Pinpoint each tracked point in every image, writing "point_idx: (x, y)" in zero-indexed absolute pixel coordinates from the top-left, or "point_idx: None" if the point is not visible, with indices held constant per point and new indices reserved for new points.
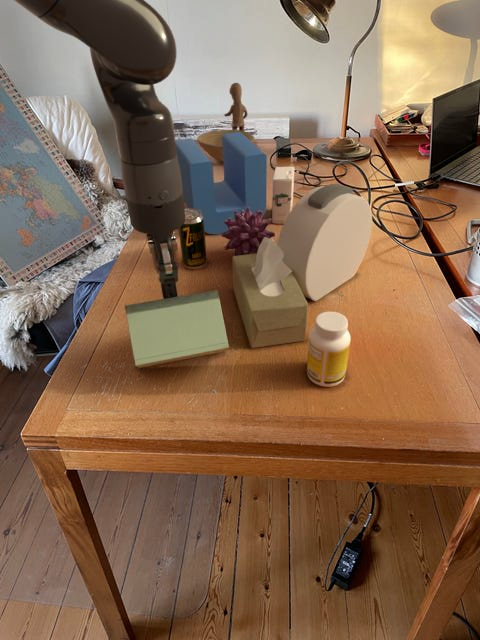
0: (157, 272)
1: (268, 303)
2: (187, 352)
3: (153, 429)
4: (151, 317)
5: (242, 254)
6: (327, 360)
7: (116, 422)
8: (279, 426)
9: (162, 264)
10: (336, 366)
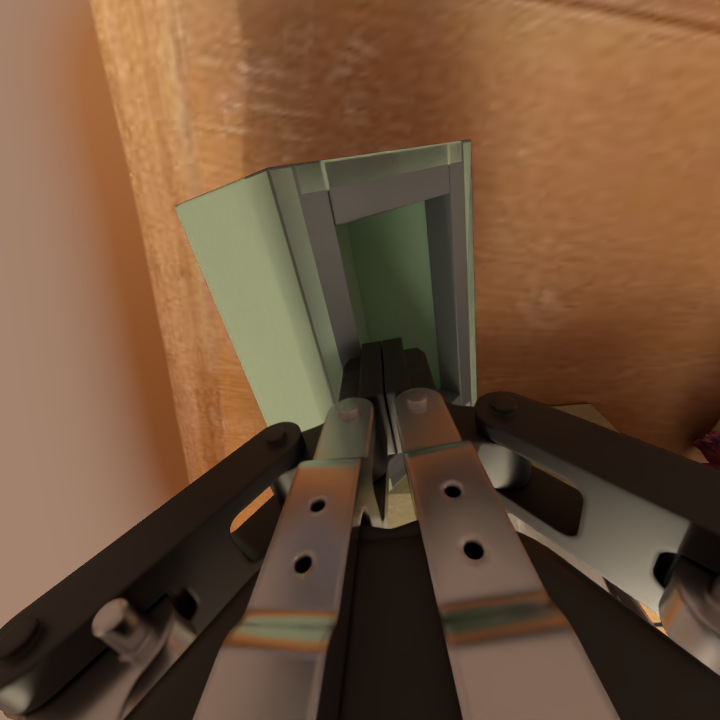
0: (408, 400)
1: (406, 523)
2: (240, 356)
3: (153, 233)
4: (267, 291)
5: (717, 451)
6: None
7: (153, 134)
8: (202, 435)
9: (2, 709)
10: None
